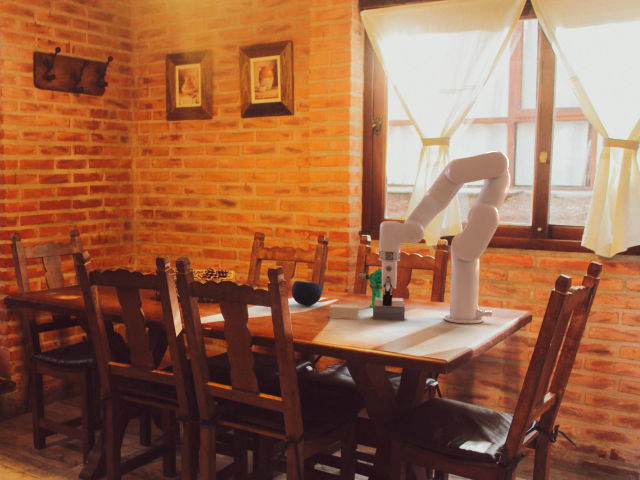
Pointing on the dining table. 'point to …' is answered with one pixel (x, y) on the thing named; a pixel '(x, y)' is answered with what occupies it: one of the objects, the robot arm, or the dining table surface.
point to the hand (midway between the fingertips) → (387, 303)
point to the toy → (374, 284)
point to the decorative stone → (306, 292)
